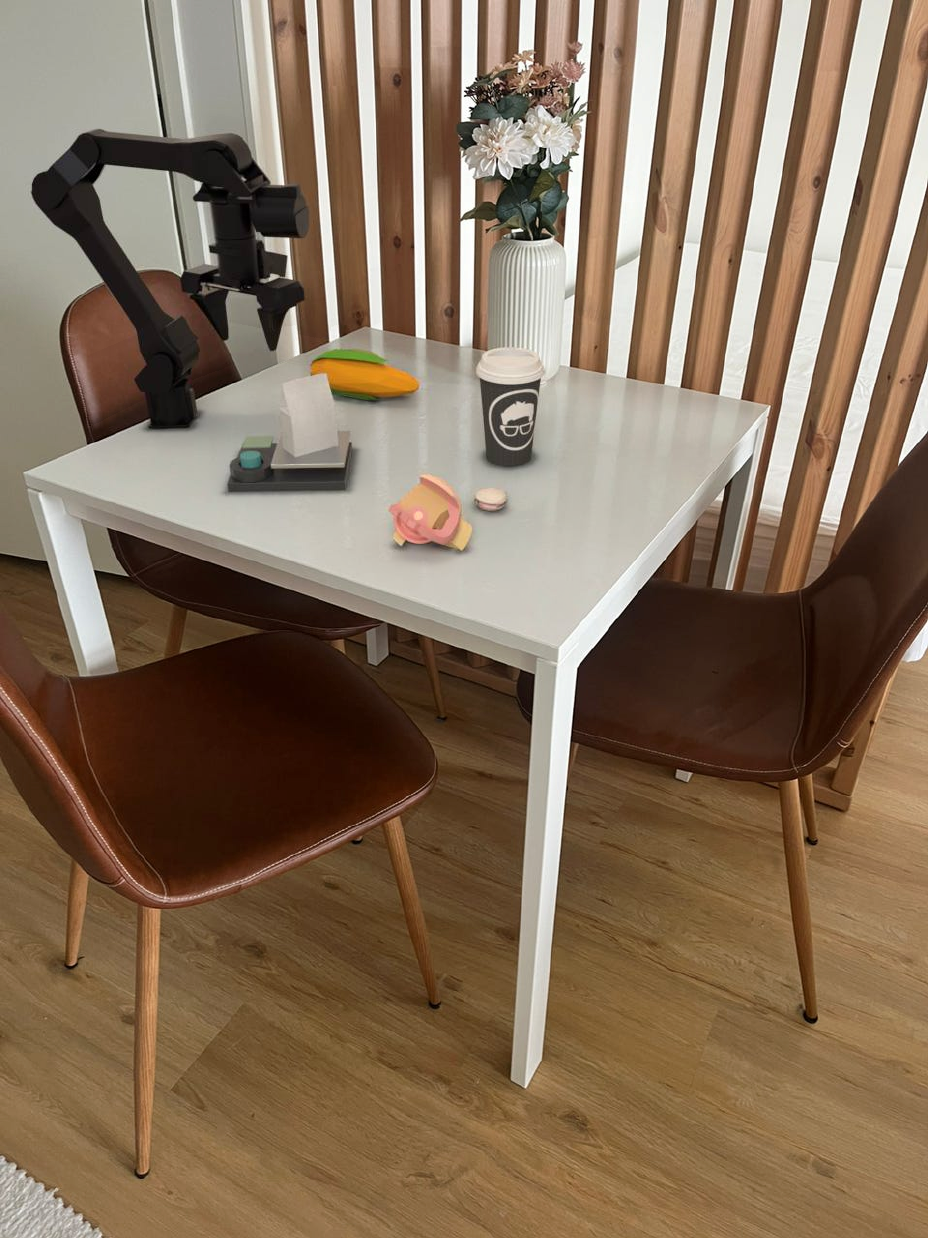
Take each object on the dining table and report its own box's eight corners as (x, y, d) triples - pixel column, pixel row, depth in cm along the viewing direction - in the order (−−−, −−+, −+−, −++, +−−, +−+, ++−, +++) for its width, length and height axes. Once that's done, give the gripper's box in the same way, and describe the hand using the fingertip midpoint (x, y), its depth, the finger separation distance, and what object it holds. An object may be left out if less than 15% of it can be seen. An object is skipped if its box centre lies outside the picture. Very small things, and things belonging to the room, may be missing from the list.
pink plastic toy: (382, 532, 129) (424, 470, 129) (446, 576, 129) (488, 514, 129) (374, 528, 120) (419, 461, 119) (443, 575, 120) (488, 509, 119)
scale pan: (270, 468, 137) (270, 464, 136) (281, 435, 146) (280, 431, 145) (344, 467, 137) (344, 463, 136) (350, 434, 146) (350, 430, 145)
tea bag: (338, 445, 141) (332, 376, 136) (295, 457, 138) (287, 387, 132) (325, 436, 144) (319, 369, 138) (283, 448, 141) (275, 379, 135)
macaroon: (468, 507, 133) (468, 490, 132) (492, 494, 136) (492, 477, 135) (493, 517, 131) (494, 500, 130) (517, 503, 134) (517, 486, 133)
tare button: (239, 469, 137) (238, 459, 136) (242, 460, 140) (241, 450, 139) (260, 469, 137) (258, 459, 136) (263, 460, 140) (261, 450, 139)
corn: (321, 336, 167) (429, 352, 160) (326, 378, 172) (432, 396, 165) (298, 353, 162) (408, 370, 155) (304, 396, 167) (412, 415, 160)
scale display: (242, 448, 142) (241, 446, 142) (246, 437, 145) (245, 436, 145) (270, 448, 142) (270, 446, 142) (273, 437, 145) (273, 435, 145)
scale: (228, 492, 137) (225, 472, 136) (243, 452, 148) (241, 433, 146) (345, 490, 138) (343, 470, 136) (352, 450, 148) (350, 431, 147)
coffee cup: (551, 449, 148) (555, 350, 140) (526, 476, 141) (530, 373, 132) (491, 438, 151) (492, 341, 143) (465, 464, 144) (464, 363, 136)
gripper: (323, 230, 141) (332, 339, 150) (223, 215, 149) (237, 320, 158) (272, 248, 133) (285, 362, 142) (169, 231, 141) (187, 340, 150)
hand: (249, 345), depth 148 cm, fingers open, 9 cm apart
